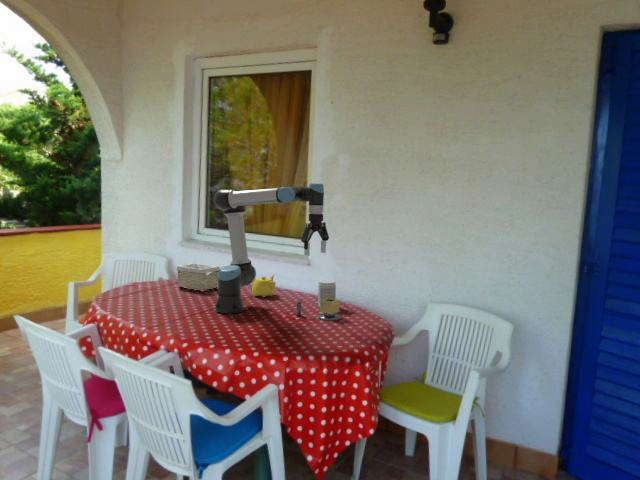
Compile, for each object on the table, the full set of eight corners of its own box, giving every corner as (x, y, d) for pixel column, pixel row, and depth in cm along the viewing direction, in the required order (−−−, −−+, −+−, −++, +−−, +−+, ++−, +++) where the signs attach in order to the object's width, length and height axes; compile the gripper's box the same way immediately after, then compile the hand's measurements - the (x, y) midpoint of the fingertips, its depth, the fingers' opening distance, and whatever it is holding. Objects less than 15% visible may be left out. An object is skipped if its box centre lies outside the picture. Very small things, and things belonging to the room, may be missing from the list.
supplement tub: (338, 308, 271) (339, 282, 270) (324, 310, 266) (325, 283, 264) (328, 304, 279) (329, 279, 278) (314, 306, 274) (315, 280, 272)
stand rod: (296, 316, 254) (296, 301, 253) (297, 314, 256) (297, 300, 255) (300, 316, 253) (301, 302, 252) (301, 315, 256) (301, 301, 255)
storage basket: (175, 287, 314) (175, 264, 312) (195, 283, 327) (194, 261, 325) (201, 293, 300) (201, 269, 299) (220, 288, 314) (220, 265, 312)
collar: (330, 314, 247) (331, 302, 246) (320, 311, 252) (320, 300, 251) (339, 311, 253) (339, 300, 252) (328, 309, 257) (329, 298, 256)
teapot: (277, 298, 291) (278, 278, 290) (253, 299, 288) (253, 279, 286) (274, 292, 305) (274, 274, 303) (251, 293, 301) (251, 274, 300)
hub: (316, 319, 247) (316, 306, 247) (319, 313, 259) (319, 300, 258) (339, 321, 246) (340, 307, 245) (342, 315, 258) (342, 302, 257)
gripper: (306, 214, 241) (305, 257, 244) (336, 212, 261) (335, 252, 263) (294, 213, 246) (294, 255, 248) (324, 212, 265) (324, 250, 268)
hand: (315, 254), depth 256 cm, fingers open, 13 cm apart
